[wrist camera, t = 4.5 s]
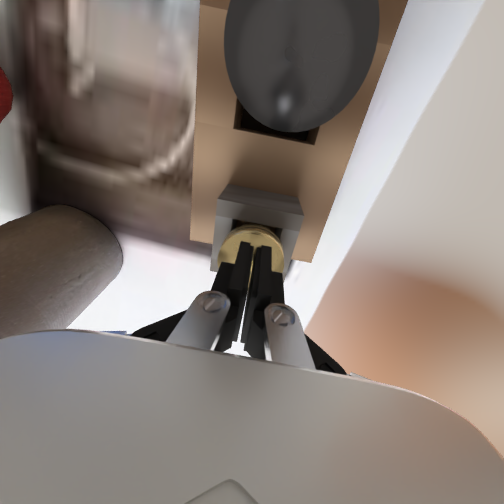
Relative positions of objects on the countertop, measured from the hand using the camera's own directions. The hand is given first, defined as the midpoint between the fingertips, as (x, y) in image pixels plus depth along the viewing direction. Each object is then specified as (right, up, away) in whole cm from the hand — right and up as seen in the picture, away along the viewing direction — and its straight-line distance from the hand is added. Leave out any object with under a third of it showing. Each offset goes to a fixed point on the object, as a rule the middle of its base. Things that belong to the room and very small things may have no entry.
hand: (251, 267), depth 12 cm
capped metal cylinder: (+2, +12, +4) cm, 13 cm away
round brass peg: (0, +2, +4) cm, 4 cm away
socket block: (+2, +10, +6) cm, 11 cm away
